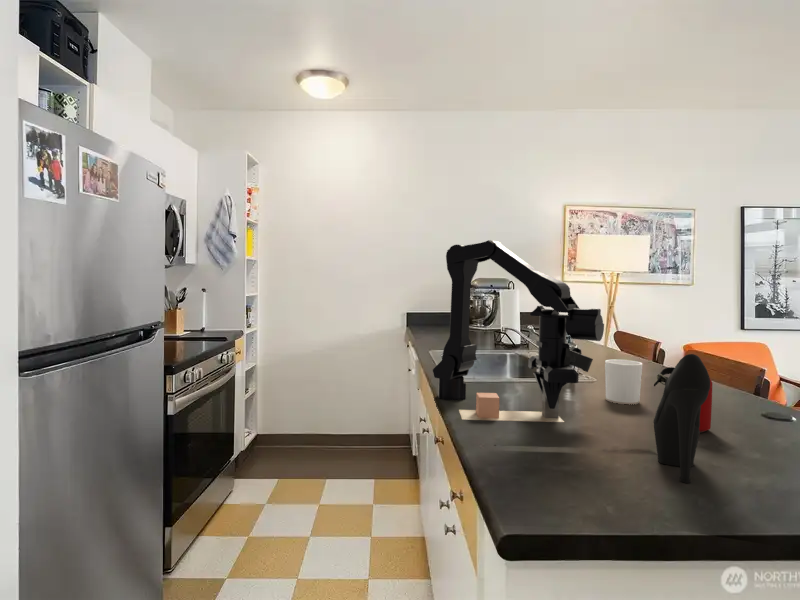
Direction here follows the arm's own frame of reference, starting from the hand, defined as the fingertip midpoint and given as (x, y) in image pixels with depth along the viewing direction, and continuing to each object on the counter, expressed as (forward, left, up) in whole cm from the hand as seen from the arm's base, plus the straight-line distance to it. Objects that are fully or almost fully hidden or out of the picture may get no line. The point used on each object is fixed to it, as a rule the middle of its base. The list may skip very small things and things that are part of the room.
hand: (550, 406), depth 109 cm
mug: (+24, +21, -3) cm, 32 cm away
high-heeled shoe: (+14, -26, -3) cm, 30 cm away
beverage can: (+29, -4, -3) cm, 29 cm away
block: (-14, 0, -2) cm, 14 cm away
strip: (-9, 0, -3) cm, 9 cm away
